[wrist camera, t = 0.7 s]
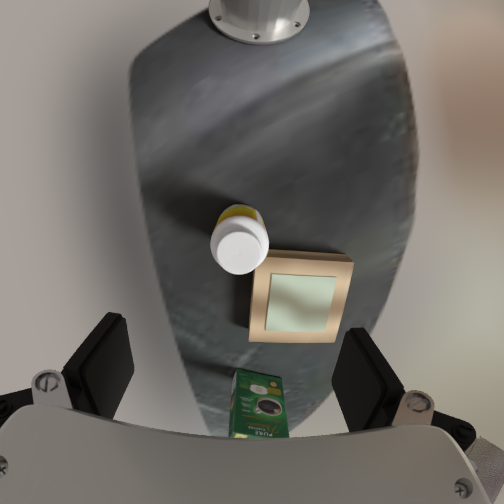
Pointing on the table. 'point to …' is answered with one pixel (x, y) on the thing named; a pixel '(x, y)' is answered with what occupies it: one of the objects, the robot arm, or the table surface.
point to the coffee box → (257, 406)
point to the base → (298, 296)
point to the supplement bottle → (239, 239)
